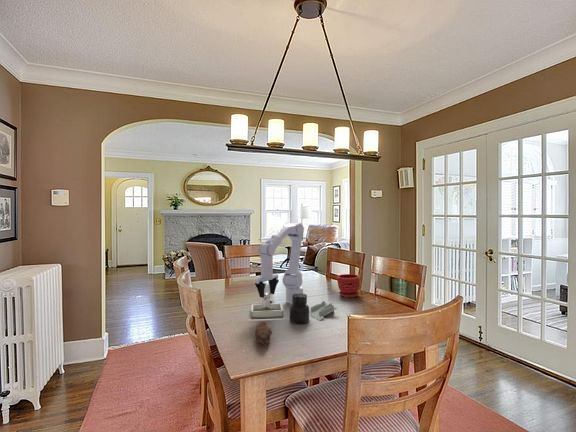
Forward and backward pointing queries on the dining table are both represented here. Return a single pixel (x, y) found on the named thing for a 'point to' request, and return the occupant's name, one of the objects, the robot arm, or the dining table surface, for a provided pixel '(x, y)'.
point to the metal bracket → (321, 310)
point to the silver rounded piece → (266, 302)
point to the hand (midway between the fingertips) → (267, 295)
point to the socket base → (270, 302)
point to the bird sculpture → (263, 333)
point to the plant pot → (348, 285)
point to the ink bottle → (299, 309)
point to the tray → (267, 313)
